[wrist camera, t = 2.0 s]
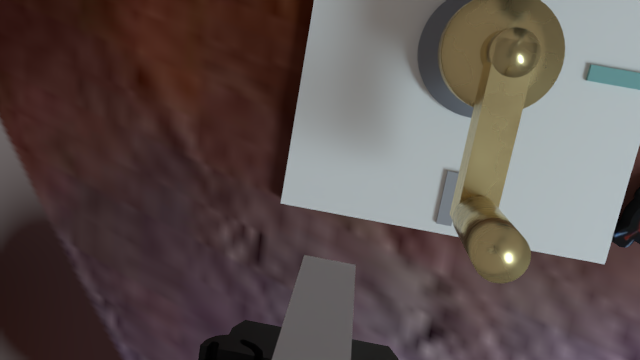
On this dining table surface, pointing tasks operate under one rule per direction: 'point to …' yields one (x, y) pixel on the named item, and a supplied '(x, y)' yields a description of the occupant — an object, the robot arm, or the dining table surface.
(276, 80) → the dining table surface
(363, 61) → the post board
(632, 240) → the sign
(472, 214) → the brass lever knob
